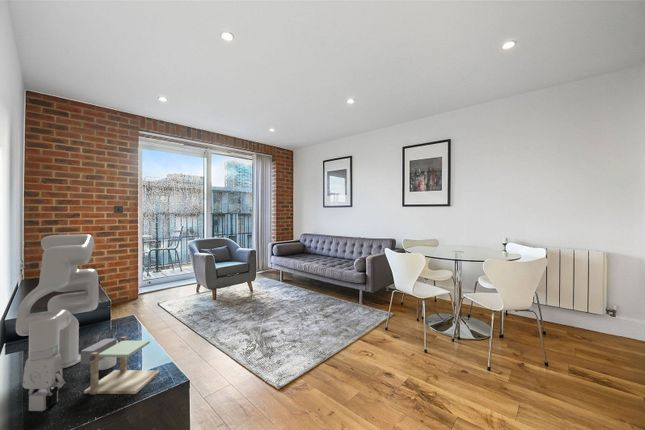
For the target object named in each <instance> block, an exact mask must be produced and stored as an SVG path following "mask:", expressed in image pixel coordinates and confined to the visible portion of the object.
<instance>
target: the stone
mask: <svg viewBox="0 0 645 430" xmlns="http://www.w3.org/2000/svg"><path fill="white" fill-rule="evenodd" d="M53 388H54V387H53V386H52V387H51V389H53ZM46 396H48V394H47V390H46V389H40V390H39V391H37V392H35V393H33V394H32V395H30V396H29V395H28V411H29V412H43V411H45V410H46V409H48V408H46ZM57 402H59V391H57Z"/></svg>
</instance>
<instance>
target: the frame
mask: <svg viewBox="0 0 645 430" xmlns="http://www.w3.org/2000/svg"><path fill="white" fill-rule="evenodd" d="M121 341H129V338H128V336H121V337H120V342H121ZM119 358H120V359H119V360H120V364H119V366H120V369H114V370H113V371H112V372H109V373H108V374H107V375H106V376H104V377H102V378H101V379H99V372H100V370H99V352H93V353H91V357H90V358H89V360H90V361H91V364H90V383H89V384H90V386H89V387H88V388H86V389H85V390H83V392H84V393H83V394H89V395H97V394H108V395H109V394H110V395H113V394H114V395H116V394H119V395H136V394H138V392H140V391H141V390H142V389H143V388H144V387H145V386H146V385H148V384H149V383H150V382H151V381H153V379H155V378H156V377H157V376H158V375H159V374H160V373H161V370H160V369H159V370H157V369H156V370H151V369H149V370H147V369H143V370H139V369H138V370H137V369H136V370H135V369H133V370H132V369H128V357H119Z"/></svg>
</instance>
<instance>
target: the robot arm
mask: <svg viewBox="0 0 645 430" xmlns="http://www.w3.org/2000/svg"><path fill="white" fill-rule="evenodd" d="M40 245H41V248H42V250H43V253H42V259H41V266H40V273H39V282H38V284H37V286H36V287H35V288H33V289H32V290H31V291H30V292H29V293H28V294H27V295H26V296H25V297H24V298H23V300H22V301H20V304H19V306H18V308H17V316H16V321H15V332H16V333H17V335H18V336H21V337H24V336H28V358H27V359H26V361H25V365H24V368H23V374H22V375H23V377H22V388H23V389H25V390H26V392H28V394H27V395H28V397H29V396H30V395H32V394H33V393H35V392H37V391H39V390H40V389H46V390H47V394H48V396H46V408H47V409H48V408H50V407H52V406H53V405H54V404H57V403H58V401H57V391H58V392H59V391H60V389H61V388H62V387H63V386H65V384H66V380H65V379H64V378H63V370H64V369H65V368H69V367H72V366H74V365H76V364H78V363H81V353H79V345H80V344H79V342H80V341H79V339H80V338H79V336H80V335H79V333H80V332H79V329H80V326H79V325H80V323H79V320H78V319H77V318H76V316H74V315H75V314H80V313H85V312H86V313H87V312H93V311H94V310H96V309H97V308H98V307H99V299H100V298H99V297H100V293H99V290H100V289H99V275H98V270H97V269H95V268H82V269H81V268H80V269H79V268H78V266H79V265H86V264H88V263H89V262H90V260H91V258H92V254H93V252H94V251H93V250H94V248H95V239H94V236H92V235H91V234H86V233H81V234H53V235H52V234H51V235H47V236H44V237H42V239H41V240H40ZM79 290H80V291H79ZM81 290H84V291H81ZM71 291H78V292H71ZM53 292H62V293H63V292H69V293H63V294H62V293H61V294H58V295H55V296H53V297H51V298H50V299H49V300H48V302H47V311H39V312H35V313H34V312H33V313H30V312H31V309H32V307H33V305H34V304H35V303H36V302H37V301H38V300H39V299H41V298H42V297H45V296H46V295H48V294H50V293H53ZM51 387H54V388H53V389H51Z"/></svg>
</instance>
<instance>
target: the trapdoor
mask: <svg viewBox="0 0 645 430" xmlns="http://www.w3.org/2000/svg"><path fill="white" fill-rule="evenodd" d="M117 339H118V338H103V339H101V340H100V341H98V342H96V343H94V344H92V345H90V346H87V347H86V348H84V349H82V350H80V354H81V361H80V365H91V361H90V360H89V358H90V357H91V353H93V352H99V361H100V360H101V359H103V358H105V357H117V358H120V357H127V358H129V357H132V355H134V354H135V353H137V352H139V351H140V350H142V349H143V348H144V347H146V346H148V345H149V344H150V343H151V340H128V341H121V340H120V342H119V341H118V340H117ZM117 341H118V343H117Z"/></svg>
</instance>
